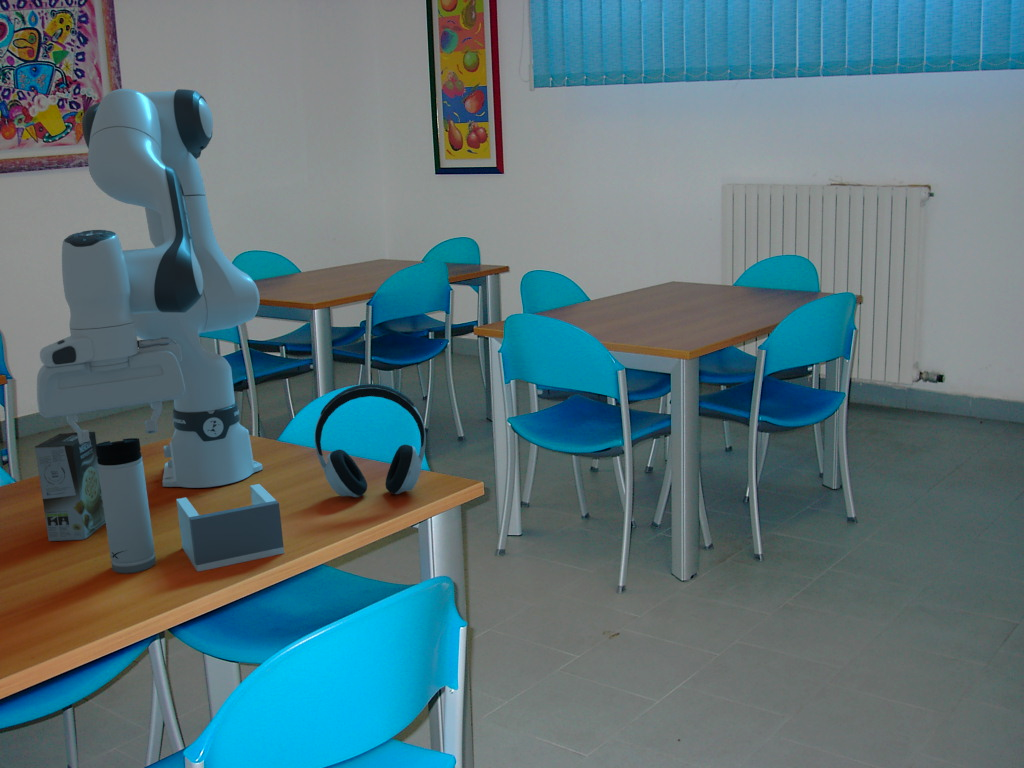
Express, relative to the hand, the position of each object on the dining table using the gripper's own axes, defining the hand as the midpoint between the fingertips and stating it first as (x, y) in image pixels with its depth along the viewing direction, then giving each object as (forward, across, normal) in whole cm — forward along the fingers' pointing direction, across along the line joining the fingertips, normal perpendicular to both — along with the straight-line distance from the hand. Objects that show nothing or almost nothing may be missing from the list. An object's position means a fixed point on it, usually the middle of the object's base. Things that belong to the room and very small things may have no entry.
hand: (118, 437), depth 159 cm
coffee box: (+20, +6, -24) cm, 31 cm away
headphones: (+20, -42, -12) cm, 48 cm away
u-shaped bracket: (+20, -14, +1) cm, 25 cm away
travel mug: (+20, 0, 0) cm, 20 cm away
